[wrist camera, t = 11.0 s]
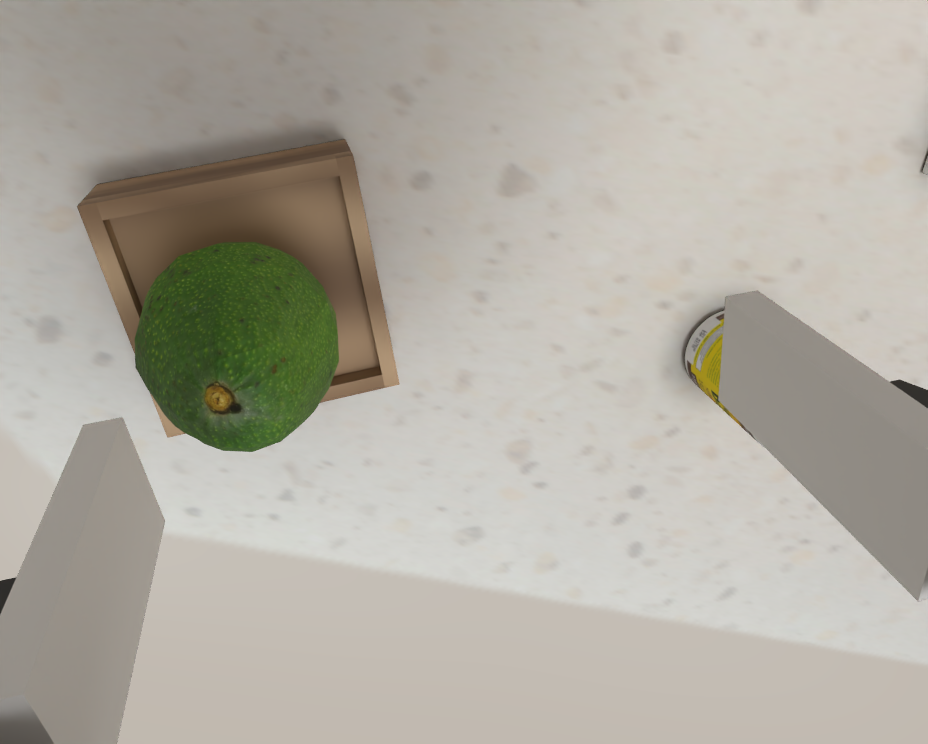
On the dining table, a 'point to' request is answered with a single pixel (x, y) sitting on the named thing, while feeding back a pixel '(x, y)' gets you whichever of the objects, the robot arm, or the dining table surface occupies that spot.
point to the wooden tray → (253, 220)
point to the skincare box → (926, 167)
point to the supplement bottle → (708, 359)
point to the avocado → (237, 344)
